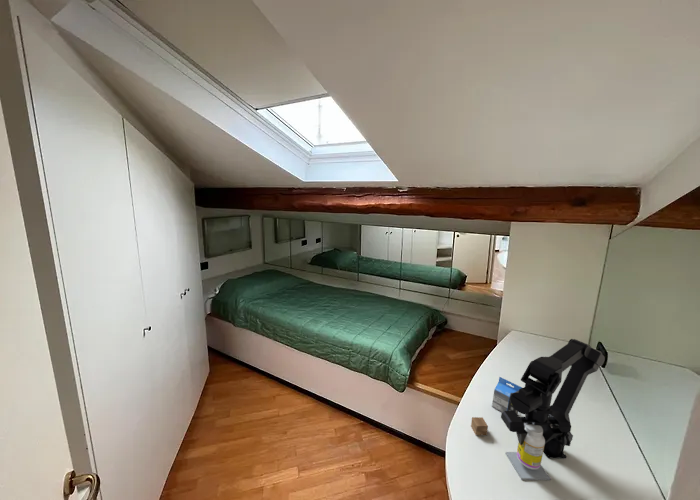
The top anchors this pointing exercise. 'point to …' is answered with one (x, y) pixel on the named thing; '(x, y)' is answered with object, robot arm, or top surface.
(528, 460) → the supplement bottle
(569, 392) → the robot arm
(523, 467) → the slate pad
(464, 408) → the top surface
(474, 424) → the walnut block
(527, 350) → the top surface
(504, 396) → the label tape cartridge
